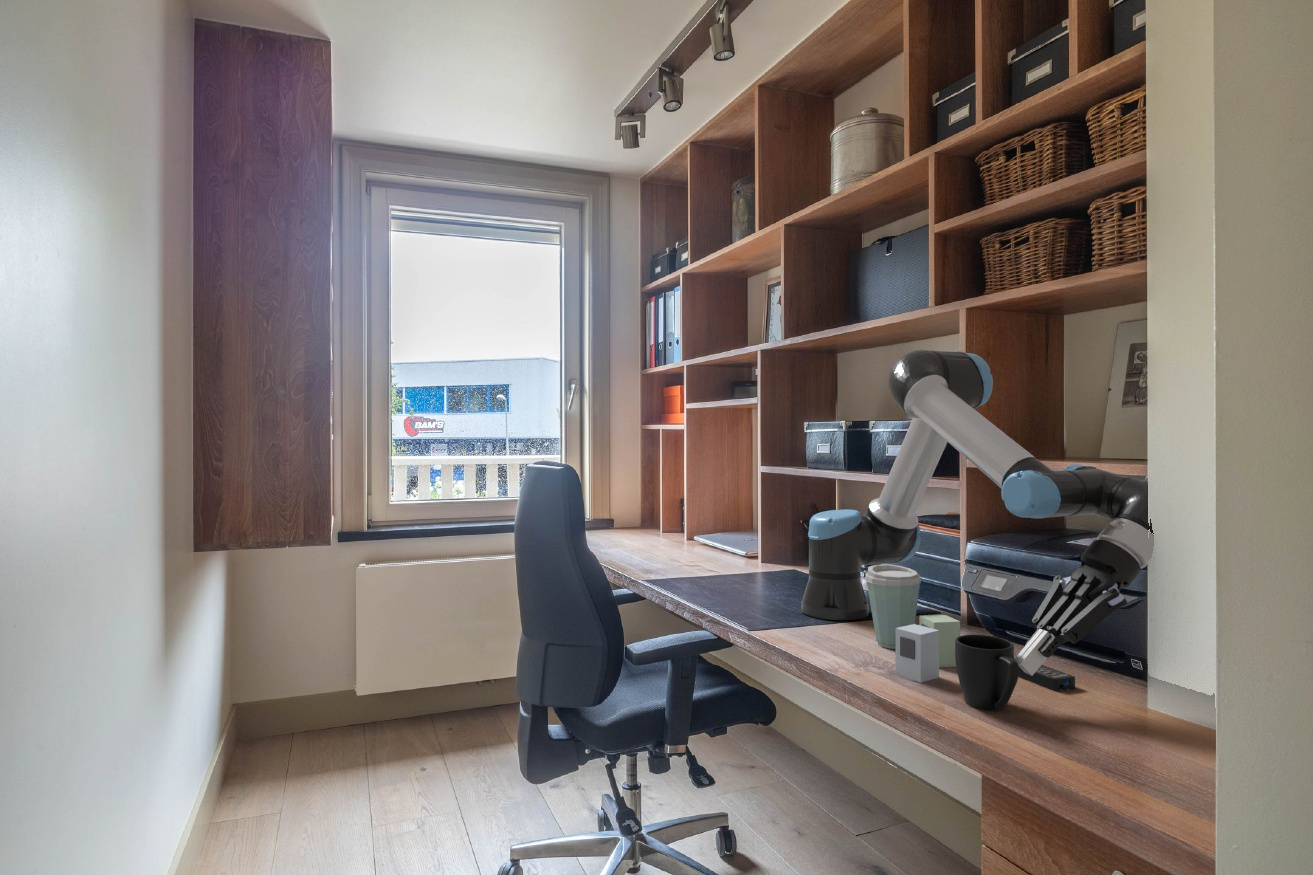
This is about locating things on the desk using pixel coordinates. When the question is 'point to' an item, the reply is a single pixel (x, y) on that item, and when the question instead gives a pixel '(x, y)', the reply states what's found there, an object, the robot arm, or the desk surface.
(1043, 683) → the multiport hub
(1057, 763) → the desk surface
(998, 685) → the mug
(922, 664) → the block grey
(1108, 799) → the desk surface
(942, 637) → the block sage
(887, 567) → the disposable coffee cup
